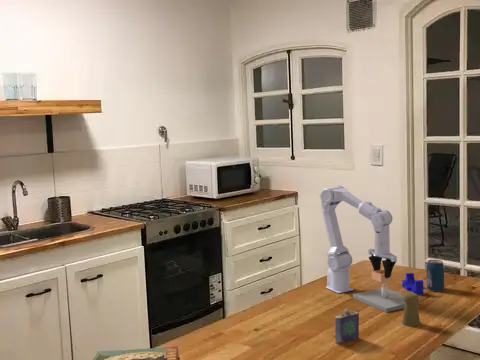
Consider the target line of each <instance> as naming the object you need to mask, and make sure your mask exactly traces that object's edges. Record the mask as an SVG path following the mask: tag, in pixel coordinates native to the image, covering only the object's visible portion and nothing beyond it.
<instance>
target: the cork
mask: <svg viewBox="0 0 480 360" xmlns="http://www.w3.org/2000/svg"><path fill="white" fill-rule="evenodd" d="M403 295H404V297H403V299H404V301H405V307H404V308H403V315H402V325H403V326H405V327H408V328H409V327H411V328H413V327H414V328H415V327H419V326H420V325H421V321H420V314H419V307H418V306H419V305H417V303H418V302H419V300H420V297H419V295H417V294H416V293H413V292H412V291H407V292H405V293H404V294H403Z"/></svg>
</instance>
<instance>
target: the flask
mask: <svg viewBox="0 0 480 360" xmlns="http://www.w3.org/2000/svg"><path fill="white" fill-rule="evenodd" d="M359 315H360V313H359V312H357V311H349V310H348V308H344V309H343V313H341V314H339V315H336V316H334V333H335V334H334V336H335V337H334V339H335V341H334V343H335V344H337V345H342V344H343V345H344V344H345V343H350V342H353V341H356V340H359V336H360V333H359V332H360V331H359V329H360V326H359V323H360V321H359V320H360V316H359Z"/></svg>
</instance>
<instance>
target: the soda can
mask: <svg viewBox="0 0 480 360" xmlns="http://www.w3.org/2000/svg"><path fill="white" fill-rule="evenodd" d="M426 288H427V290H429V291H431V292H441V291H443V290H444V288H445V265H444V262H443V260H440V259H429V260H428V261H427V264H426Z"/></svg>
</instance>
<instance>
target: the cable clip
mask: <svg viewBox="0 0 480 360" xmlns="http://www.w3.org/2000/svg"><path fill="white" fill-rule="evenodd" d="M401 281H402V283H401V284H402V285H401V286H402V288H403V289H404V290H406V291H407V292H412V293H416V294H417V295H418V296H424V280H423V279H416V280H415V273H414V272H406V273H405V279H402V280H401Z"/></svg>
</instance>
